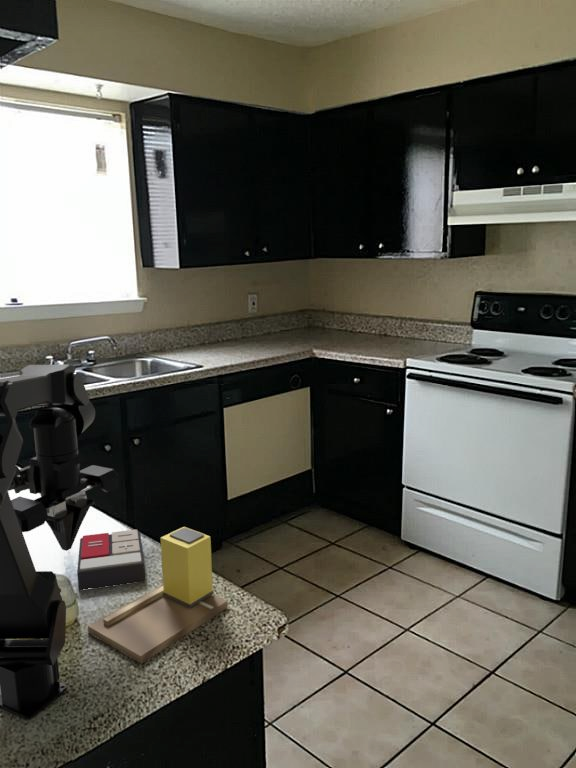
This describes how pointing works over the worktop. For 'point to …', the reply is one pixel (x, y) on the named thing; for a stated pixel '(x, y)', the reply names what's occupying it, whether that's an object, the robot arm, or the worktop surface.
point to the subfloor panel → (153, 623)
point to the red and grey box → (110, 559)
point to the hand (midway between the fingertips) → (66, 549)
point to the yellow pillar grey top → (186, 566)
